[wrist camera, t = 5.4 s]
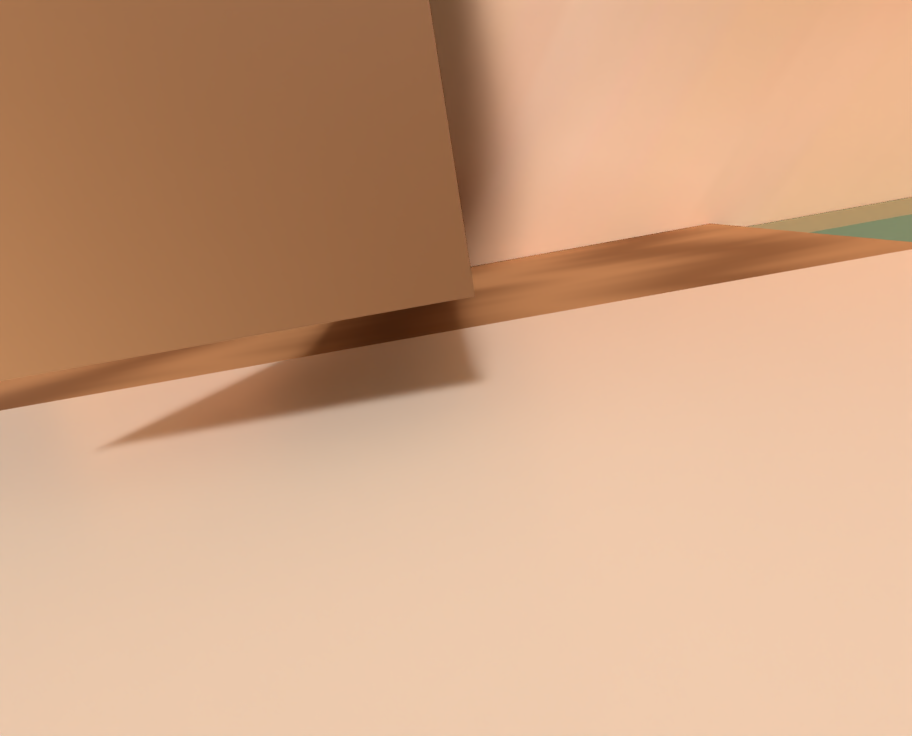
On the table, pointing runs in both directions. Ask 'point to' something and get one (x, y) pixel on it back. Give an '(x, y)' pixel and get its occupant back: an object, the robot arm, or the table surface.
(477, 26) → the table surface
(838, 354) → the lid
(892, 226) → the potting tray
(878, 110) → the table surface
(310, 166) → the stay post
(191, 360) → the brown wooden box
